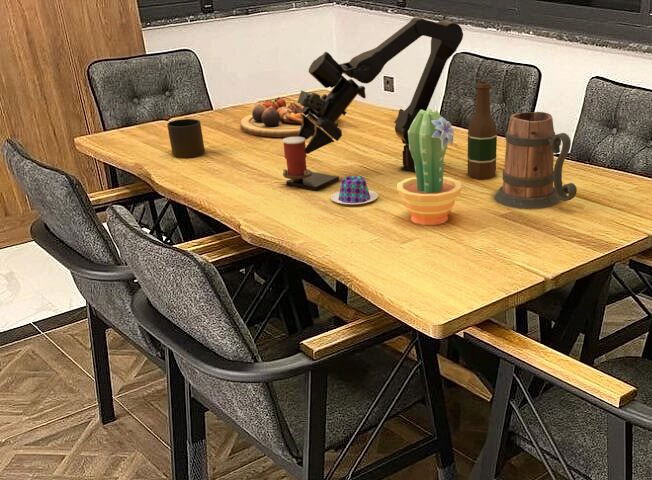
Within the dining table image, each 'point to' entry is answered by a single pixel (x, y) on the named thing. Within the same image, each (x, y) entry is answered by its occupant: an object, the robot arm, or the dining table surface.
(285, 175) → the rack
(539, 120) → the tankard
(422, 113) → the potted cactus
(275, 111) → the wooden plate
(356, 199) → the pudding
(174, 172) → the dining table surface
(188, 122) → the dark brown cup
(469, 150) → the beer bottle
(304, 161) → the red cup with lid
